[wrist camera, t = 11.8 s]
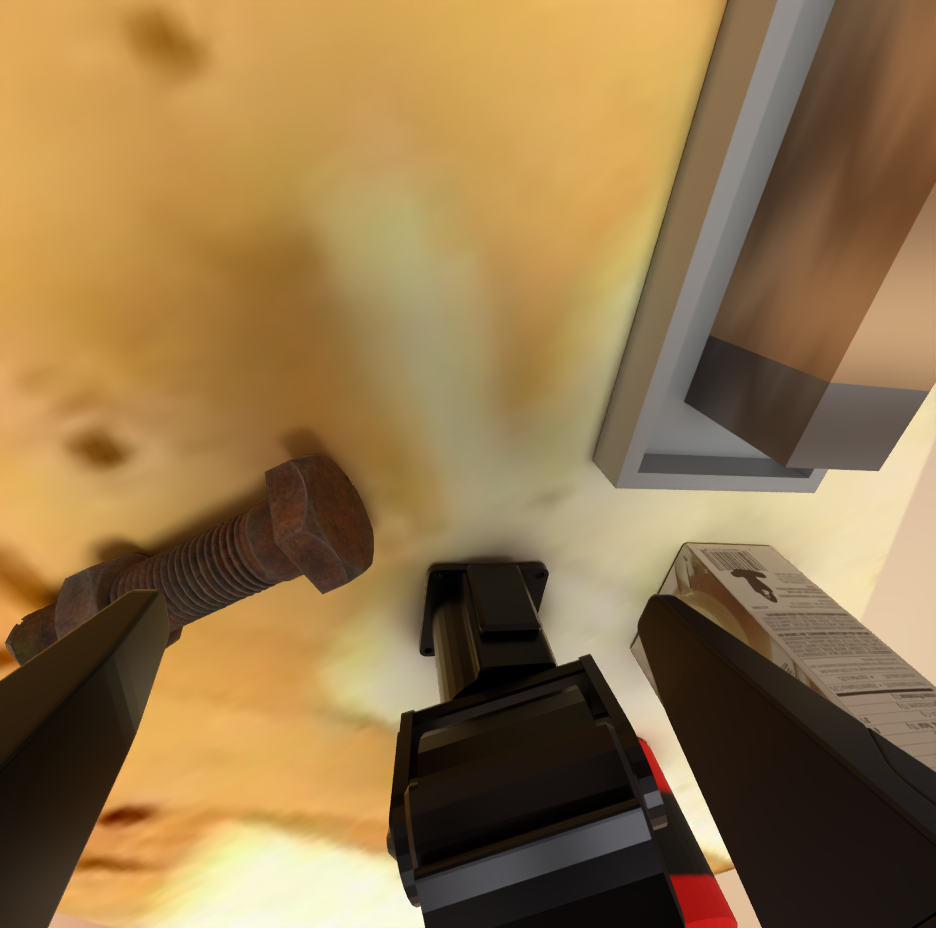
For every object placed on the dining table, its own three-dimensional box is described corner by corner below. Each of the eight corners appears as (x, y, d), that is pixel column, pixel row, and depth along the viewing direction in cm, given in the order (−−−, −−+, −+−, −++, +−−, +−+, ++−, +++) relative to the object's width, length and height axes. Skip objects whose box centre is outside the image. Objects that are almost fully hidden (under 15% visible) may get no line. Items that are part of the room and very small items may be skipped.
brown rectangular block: (845, -27, 14) (1116, -161, 9) (944, 5, 15) (1246, -102, 10) (683, 401, 21) (785, 467, 15) (758, 407, 21) (878, 471, 16)
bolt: (77, 577, 23) (342, 451, 21) (121, 668, 23) (388, 549, 21) (-70, 625, 17) (281, 456, 15) (-10, 747, 17) (344, 592, 15)
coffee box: (709, 647, 31) (966, 992, 18) (627, 649, 30) (837, 1027, 16) (774, 542, 27) (1179, 888, 13) (681, 538, 26) (1029, 922, 12)
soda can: (602, 726, 34) (699, 951, 24) (667, 743, 37) (777, 950, 27) (541, 780, 37) (604, 1005, 26) (606, 792, 40) (686, 999, 29)
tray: (776, 467, 24) (814, 492, 22) (592, 460, 22) (615, 488, 20) (1051, -67, 15) (1165, -114, 13) (779, -172, 13) (860, -250, 10)
